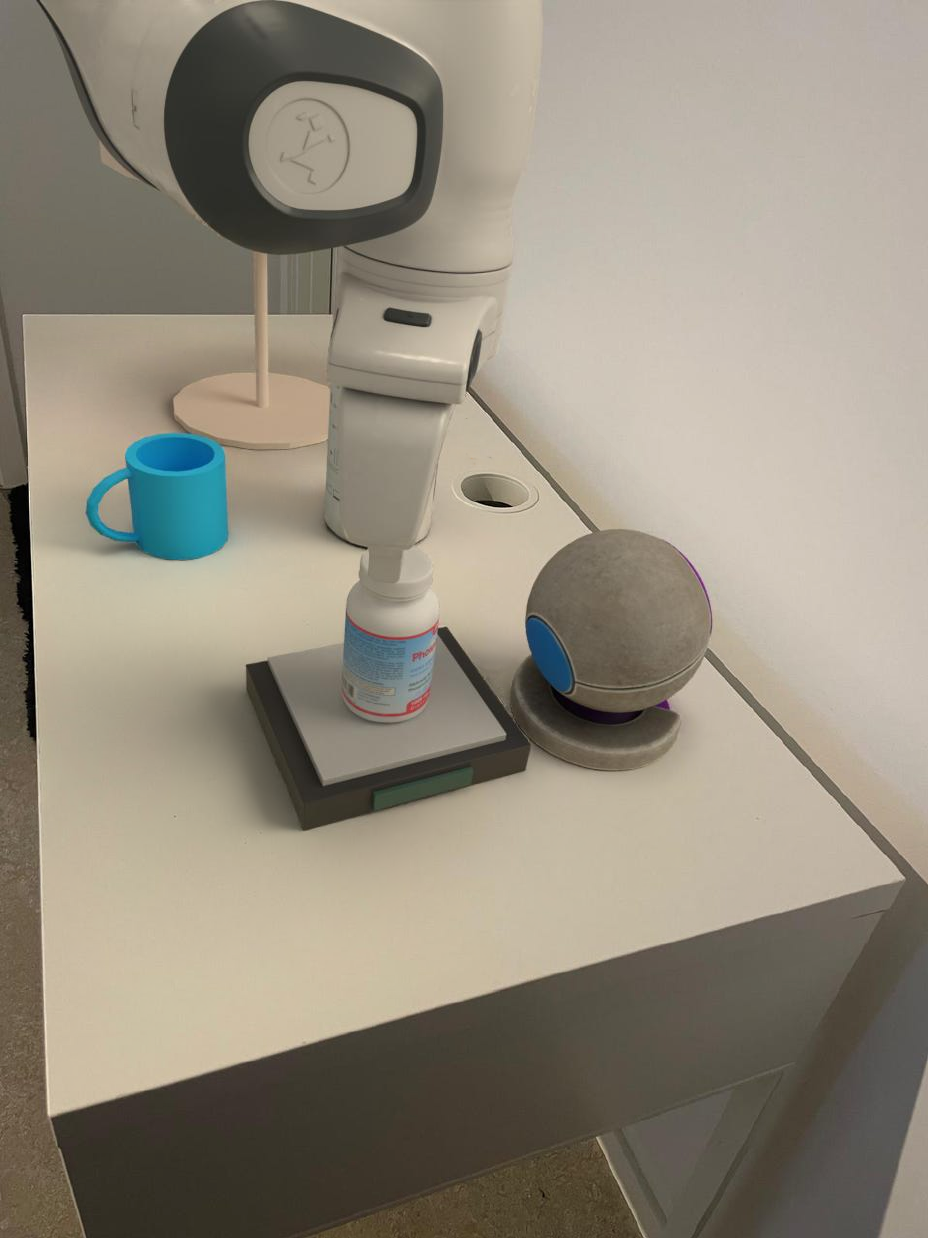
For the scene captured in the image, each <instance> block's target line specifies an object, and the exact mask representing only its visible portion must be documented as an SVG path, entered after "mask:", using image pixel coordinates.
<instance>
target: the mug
mask: <svg viewBox="0 0 928 1238" xmlns="http://www.w3.org/2000/svg"><path fill="white" fill-rule="evenodd" d="M124 460H125V468H124V467H123V468H121V469H118V470H116V471H114V472H112V473H111V474H109V475H107V476H105V477H104V478H103V479H101V480H100V482H98V483H97V484H96V485H95V486H94V487H93V488H92V490H91V492H90V494H89V495H88V497H87V499H86V505H85V516H86V518H87V520H88V523H89V525H90V527H92V529H94V530H95V531H96V532H97V533H98V534H99V536H100V535H101V536H103V537H104V538H107V539H109V540H112V541H115V542H122V543H135V544H136V546H137V547H138V548H139V549H140V550H141V551H142V552H144V553H145V554H148V555H150V556H152V557H154V558H159V559H164V560H169V561H188V560H194V559H201V558H204V557H207V556H210V555H213V554H214V553H215V552H217V551H219V550H221V549H222V548H223V547H224V546H225V545H226V543H227V542H228V540H229V539H228V538H229V516H228V515H229V514H228V513H229V512H228V493H227V492H228V491H227V467H226V466H227V465H226V452H225V450H224V448H223V446H222V445H221V444H218V443H216V442H215V441H213V440H211V439H208V438H206V437H203V436H199V435H194V434H191V433H186V432H168V433H167V432H166V433H157V434H153V435H149V436H144V437H143V438H140V439H138V440H136V441H134V442H132V443H131V444H130V445H129V446H128V447H127V448H126V450H125V454H124ZM125 480H127V487H128V495H129V503H130V504H129V505H130V513H131V521H132V530H133V531H122V530H116V529H114V528H111V527H109V526H107V524H105V522H103V521H102V520H101V517H100V515H99V507H100V503H101V501H102V499H103V497H104V495H105V494H106V493H107V492H109V491H110V490H111V489H112V488H113V487H114V486H116V485H117V484H119V483H121V482H123V481H125Z"/></svg>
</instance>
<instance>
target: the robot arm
mask: <svg viewBox="0 0 928 1238" xmlns="http://www.w3.org/2000/svg"><path fill="white" fill-rule="evenodd" d="M35 2H37V4H38V5H39V7H40V8H41V10H42V12H43V13H44V15H45V16H46V18H47V20H48V22H49V24H50V26H51V28H52V30H53V33H54V35H55V37H56V39H57V42H58V45H59V47H60V49H61V51H62V55H63V57H64V60H65V62H66V66H67V69H68V72H69V74H70V76H71V80H72V83H73V86H74V89H75V91H76V94H77V97H78V100H79V103H80V105H81V107H82V109H83V111H84V114H85V116H86V119H87V121H88V122H89V125H90V126H91V128H92V130H93V132H94V133H95V135H96V137H97V138H98V141H99V140H100V141H101V143H102V144H103V146H104V147H105V148H106V149H107V151H108V152H109V153H110V154H111V155H112V157H113V158H114V159H115V160H116V161H117V162H118V163H119V164H120V165H121V166H122V167H123V168H125V169H126V170H127V171H128V172H129V173H131V174H132V175H133V176H135V177H136V178H138V179H139V180H138V181H140V180H141V181H140V182H143V183H144V184H145V185H148V186H149V187H152V188H153V189H156V190H158V191H160V192H161V193H162V194H164V195H165V196H167V197H168V198H169V200H171V201H173V202H174V203H175V204H177V205H178V207H180V208H181V209H183V210H184V211H185V212H186V213H187V214H189V215H190V216H191V217H192V218H193V219H195V220H196V221H197V222H199V223H200V224H202V225H203V226H204V227H205V228H207V229H208V230H210V231H211V232H213V233H214V234H216V235H217V236H219V237H220V238H222V239H224V240H226V241H228V242H229V243H231V244H234V245H236V246H238V247H242V248H244V249H246V250H250V251H252V252H253V251H256V252H260V253H266V254H267V255H273V256H274V255H277V256H286V255H298V254H305V253H312V252H317V251H323V250H330V249H336V247H337V259H336V280H335V279H334V282H335V301H334V300H333V306H334V321H333V320H332V330H331V334H330V338H329V346H328V349H327V350H328V351H327V366H326V377H327V381H328V383H329V385H330V384H332V385H336V386H341V392H340V398H339V412H338V466H339V502H340V518H341V523H342V527H343V531H344V533H345V535H346V538H347V539H348V540H349V541H351V542H354V543H358V544H363V545H367V546H368V548H367V549H368V551H369V565H368V575H369V578H370V579H372V580H373V581H378V582H384V583H391V584H393V583H396V582H398V580H399V579H400V575H401V570H402V566H403V557H404V550H409V549H411V548H412V547H413V546H414V547H415V545H416V544H417V543H416V541H417V538H418V535H419V532H420V529H421V526H422V522H423V519H424V515H425V512H426V508H427V504H428V500H429V496H430V492H431V488H432V484H433V480H434V476H435V472H436V468H437V469H438V467H437V464H438V465H439V460H440V456H441V452H442V450H443V449H442V448H443V446H444V445H443V444H444V441H445V437H446V434H447V431H448V427H449V424H450V421H451V418H452V416H453V413H454V411H455V409H456V407H457V405H462V404H463V403H464V401H465V400H466V395H467V393H468V392H469V391H470V387H471V385H472V382H473V380H474V378H476V377H475V376H476V375H477V374H478V373H479V371H480V370H481V369H482V368H483V366H484V365H485V364H486V362H487V361H488V360H490V359H492V358H493V357H495V356H496V355H497V353H498V352H499V349H500V345H501V339H502V338H501V337H502V332H503V326H504V319H505V314H506V313H505V312H506V307H507V301H508V294H509V289H510V282H511V276H512V268H513V263H514V262H513V261H514V256H515V255H514V254H515V243H514V236H513V222H512V221H513V210H514V204H515V201H516V197H517V193H518V191H519V188H520V185H521V183H522V181H523V179H524V176H525V175H526V171H527V168H528V165H529V161H530V160H529V159H530V154H531V148H532V142H533V141H532V140H533V136H534V130H535V122H536V116H537V115H536V114H537V107H538V99H539V89H540V81H541V69H542V61H543V60H542V59H543V41H544V8H543V7H544V6H543V0H35ZM415 543H416V544H415Z"/></svg>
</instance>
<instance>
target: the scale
mask: <svg viewBox="0 0 928 1238" xmlns="http://www.w3.org/2000/svg"><path fill="white" fill-rule="evenodd" d="M343 650H344V642H342V643H337V644H332V645H331V644H330V645H327V646H322V647H316V648H311V649H305V650H299V651H295V652H294V651H293V652H289V653H285V654H279V655H273V656H268V657H267V660H263V661H257V662H251V663H246V664H245V685H246V686H245V687H246V689H245V690H246V693H247V696H248V698H249V700H250V703H251V705H252V707H253V710H254V712H255V714H256V717H257V719H258V722H259V725H260V727H261V729H262V732H263V735H264V737H265V739H266V742H267V744H268V746H269V749H270V751H271V754H272V757H273V759H274V761H275V763H276V766H277V769H278V772H279V774H280V776H281V779H282V781H283V783H284V787H285V788H286V791H287V793H288V795H289V798H290V801H291V804H292V806H293V808H294V810H295V813H296V815H297V818H298V820H299V822H300V825H301V828H302V830H303V831H308V830H312V829H315V828H319V827H324V826H326V825H332V824H335V823H338V822H341V821H345V820H349V819H352V818H356V817H361V816H364V815H368V814H371V813H374V812H375V813H376V812H379V811H381V810H382V811H383V810H386V809H390V808H394V807H396V806H400V805H404V804H408V803H411V802H415V801H419V800H422V799H426V798H429V797H434V796H437V795H441V794H445V793H448V792H452V791H455V790H459V789H463V788H467V787H470V786H473V785H477V784H481V783H486V782H489V781H492V780H496V779H499V778H503V777H507V776H511V775H514V774H518V773H521V772H526V770H527V766H528V761H529V756H530V751H531V747H532V744H531V743H530V742H529V740H528V739H527V737H526V736H525V735H524V732H523V731H522V729H521V728H519V725H517V722H515V720H514V719H513V717H512V716H511V715H510V714H509V712H508V710H507V709H506V708H505V706H504V705H503V704H502V701H500V699H499V698H498V697H497V695H496V694H495V693H494V691H493V690H492V688H491V687H490V686H489V684H488V682H487V681H486V680H485V678H484V677H483V676H482V674H481V672H480V671H479V670H478V669H477V667H476V665H475V664H474V663H473V661H472V660H471V659H470V657H469V656H468V654H467V653H466V651H465V650H464V649H463V647H462V646H461V644H460V643H459V641H458V640H457V639H456V638H455V636H454V634H453V633H452V632H451V630H450V629H449V628H448V626H442V627H438V631H437V640H436V647H435V655H434V664H433V672H432V680H431V688H430V695H429V700H428V703H427V705H426V707H425V708H424V709H423V710H422V712H420V713H419V714H418V715H417V716H415V717H413V718H411V719H409V720H406V721H401V722H395V723H385V722H375V721H370V720H367V719H364V718H362V717H360V716H358V715H356V714H355V713H354V712H352V711H351V710H350V709H349V708H348V706H347V705H346V703H345V702H344V699H343V696H342V670H343Z"/></svg>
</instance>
